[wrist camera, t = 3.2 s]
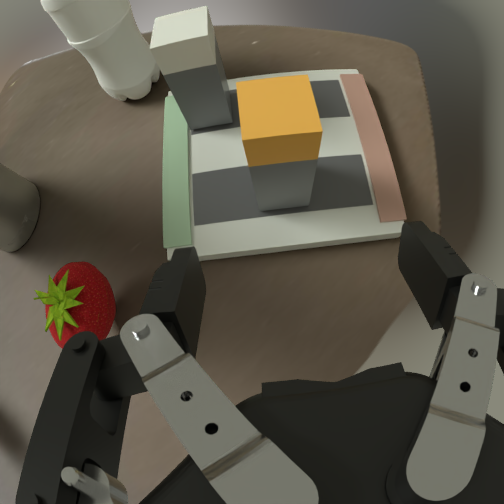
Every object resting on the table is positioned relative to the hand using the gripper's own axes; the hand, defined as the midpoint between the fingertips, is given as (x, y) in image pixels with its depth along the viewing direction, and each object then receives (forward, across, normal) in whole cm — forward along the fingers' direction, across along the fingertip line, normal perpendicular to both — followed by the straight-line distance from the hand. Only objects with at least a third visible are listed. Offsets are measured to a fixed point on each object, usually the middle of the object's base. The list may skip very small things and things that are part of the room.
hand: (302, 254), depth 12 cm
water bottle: (+29, +15, -7) cm, 33 cm away
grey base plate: (+19, 0, +2) cm, 19 cm away
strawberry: (+10, +17, +11) cm, 23 cm away
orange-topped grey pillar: (+15, 0, +3) cm, 15 cm away
